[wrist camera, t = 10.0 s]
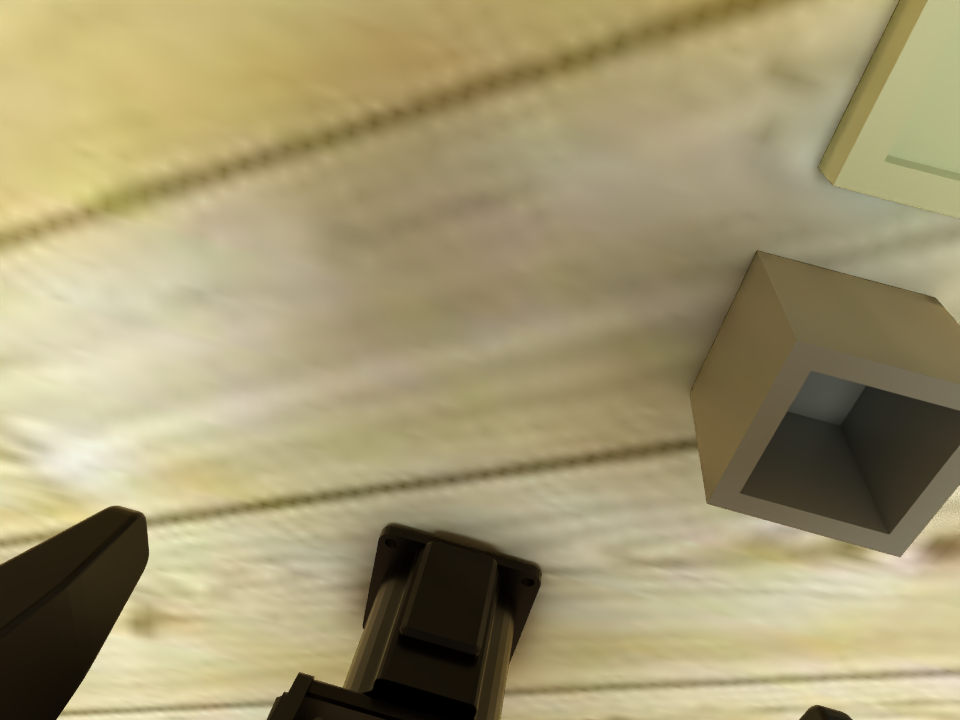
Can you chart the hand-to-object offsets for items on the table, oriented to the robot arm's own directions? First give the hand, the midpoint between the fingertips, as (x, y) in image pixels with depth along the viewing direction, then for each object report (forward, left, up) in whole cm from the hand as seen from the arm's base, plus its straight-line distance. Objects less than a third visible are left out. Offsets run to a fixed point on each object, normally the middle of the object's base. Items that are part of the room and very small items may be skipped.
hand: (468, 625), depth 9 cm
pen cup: (-1, -8, -13) cm, 15 cm away
